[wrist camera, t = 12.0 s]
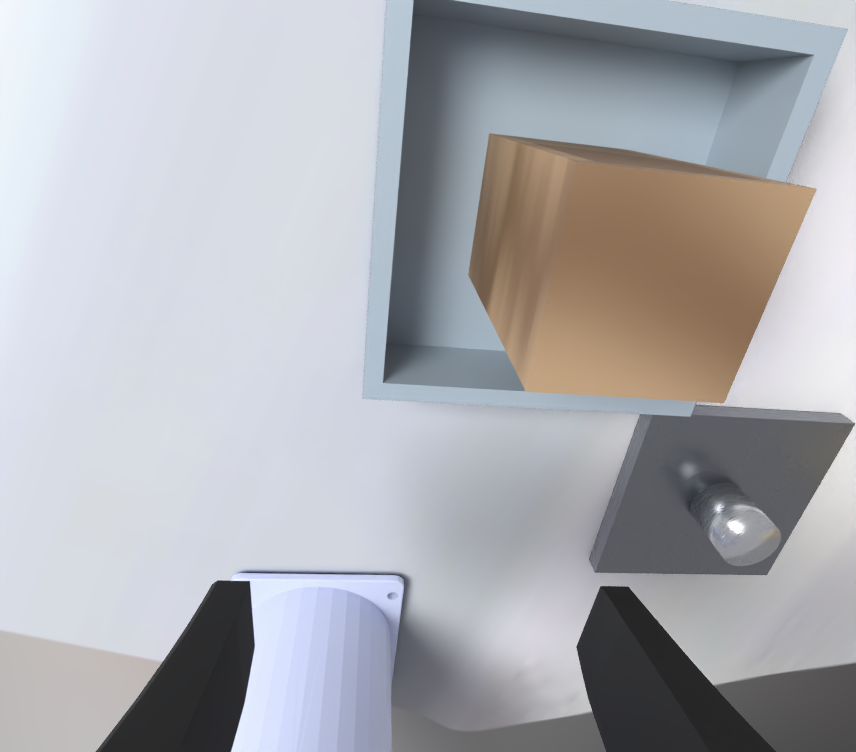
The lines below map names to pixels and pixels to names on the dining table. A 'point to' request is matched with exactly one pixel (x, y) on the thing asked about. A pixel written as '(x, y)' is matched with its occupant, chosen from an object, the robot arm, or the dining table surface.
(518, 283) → the brown block
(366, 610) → the robot arm
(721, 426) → the base
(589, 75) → the bin
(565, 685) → the dining table surface
